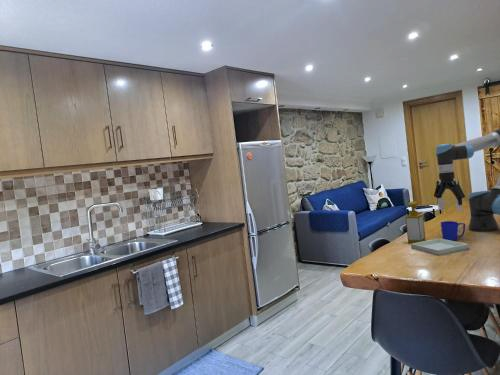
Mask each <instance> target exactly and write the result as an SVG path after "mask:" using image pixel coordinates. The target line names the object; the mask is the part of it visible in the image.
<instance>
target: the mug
mask: <svg viewBox="0 0 500 375" xmlns="http://www.w3.org/2000/svg"><path fill="white" fill-rule="evenodd" d="M458 225H459V226H460V225H462V226H463V227H462V234H461V235H458V233H459V232H458ZM440 228H441V229H442V232H441V235H442V239H445V240H450V241H455V242H456V241H457V240H458V238H462V237H463V236H464V235H465V232H466V231H465V230H466V224H465V223H464V222H457V221H452V220H451V221H450V220H447V221H441V222H440ZM441 229H440V230H441Z"/></svg>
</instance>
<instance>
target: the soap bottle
mask: <svg viewBox="0 0 500 375" xmlns="http://www.w3.org/2000/svg"><path fill="white" fill-rule="evenodd" d="M418 203H419V201H409V202H408V203H407V205H408V207H410V208H411V210H410V211H409V214H407V215H406V216H405V218H404V219H405V226H406V233H407V244H408V245H409V244H410V245H411V244H412V243H418V242H423V241H427V239H426V231H425V223H424V214H421V213H419V214H418V210H417V209H415V207H417V206H418Z"/></svg>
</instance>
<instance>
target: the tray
mask: <svg viewBox="0 0 500 375" xmlns="http://www.w3.org/2000/svg"><path fill="white" fill-rule="evenodd" d="M410 248H411V249H412V250H416V251H418V252H423V253H426V254H430V255H434V256H444V255H448V254H453V253H457V252H458V253H459V252H463V251H467V250H470V245H469V243H464V242H459V241H456V240H455V241H450V240H445V239H443V238H441V237H440V238H434V239H428V240H426V241H423V242H418V243H412V244H410Z"/></svg>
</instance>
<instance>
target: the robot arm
mask: <svg viewBox="0 0 500 375" xmlns="http://www.w3.org/2000/svg"><path fill="white" fill-rule="evenodd" d="M492 147H493V148H498V147H500V128H498V129H496V130H493V131H490V132H489V133H488V134H485V135H482V136H479V137H475V138H473V139H469V140H466V141H463V142H459V143H456V144H453V145H452V143H444V144H442V143H441V144H438V145H437V146H436V148H435V152H436V153H435V157H436V160H437V169H438V178H439V180H436V182H435V184H436V186H435V189H434V193H433V197H434V198H436V200H437V205H438V206H437V207H438V210H439V211H441V210H444V209H445V208H444V200H443V194H444V193H445V191H446V190H449V191H451V192H452V194H453V195H454V197H455V198H456V199H455V204H456V212H462V211H463V199H464V198H466V196H465V193H464V192H463V188H462V187H461V185H460V182H459V180H455V172H454V170H455V168H454V161H457V160H458V161H459V160H460V161H461V160H468V159H471V158H473V156H474V155H475V153H476V152H479V151H482V150H486V149H488V148H489V149H490V148H492ZM468 203H469V213H470V219H469V224H468V230H469V231H471V232H479V233H480V232H481V233H482V232H484V233H485V232H486V233H487V232H494V231H497V230H499V229H500V228H499V225H498V223H497V220H496V218H495V215H498V216H500V174H499V176H498V178H497V181H496V184H495V185H494V186H493V187H491V188H490V190H489V189H488V190H481V191H473V192H470V193H468Z"/></svg>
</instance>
